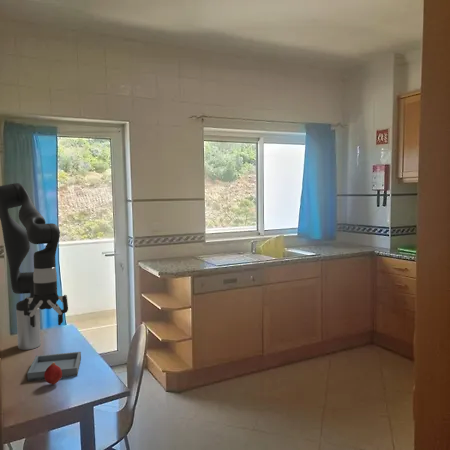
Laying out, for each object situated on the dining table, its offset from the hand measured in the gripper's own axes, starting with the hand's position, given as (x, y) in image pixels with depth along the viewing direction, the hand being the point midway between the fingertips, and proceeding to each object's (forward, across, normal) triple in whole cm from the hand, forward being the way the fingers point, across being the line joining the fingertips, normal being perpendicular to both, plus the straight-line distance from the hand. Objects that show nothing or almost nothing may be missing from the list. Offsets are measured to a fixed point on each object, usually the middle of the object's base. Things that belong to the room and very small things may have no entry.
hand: (46, 325), depth 148 cm
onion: (+21, -2, +1) cm, 21 cm away
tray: (+21, 0, -13) cm, 24 cm away
